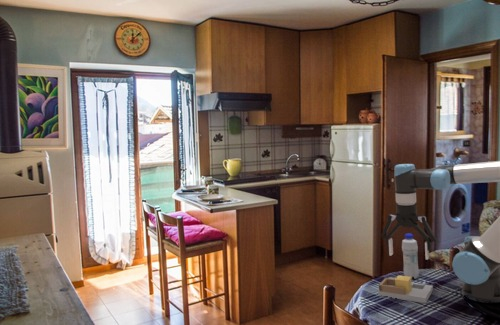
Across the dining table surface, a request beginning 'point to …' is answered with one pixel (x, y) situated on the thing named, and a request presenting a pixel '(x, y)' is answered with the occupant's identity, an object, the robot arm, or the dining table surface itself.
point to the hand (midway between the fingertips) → (408, 256)
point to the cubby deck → (416, 294)
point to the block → (404, 283)
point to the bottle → (410, 256)
